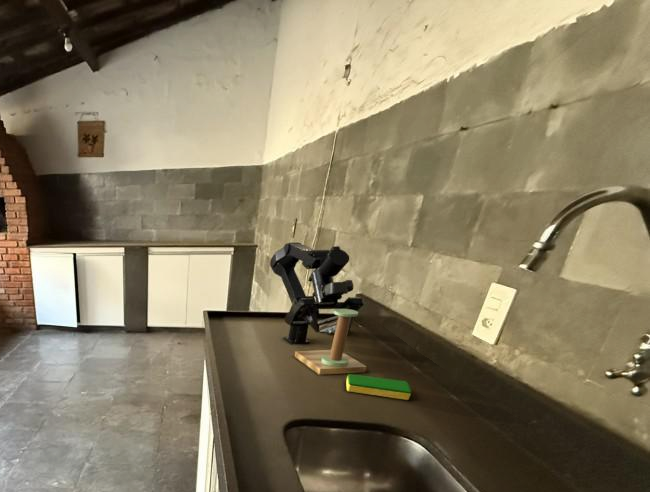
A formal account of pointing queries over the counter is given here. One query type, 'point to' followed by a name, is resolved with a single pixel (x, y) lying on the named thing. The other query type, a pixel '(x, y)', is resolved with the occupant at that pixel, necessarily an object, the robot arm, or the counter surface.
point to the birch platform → (315, 363)
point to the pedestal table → (326, 358)
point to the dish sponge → (378, 386)
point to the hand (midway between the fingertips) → (333, 331)
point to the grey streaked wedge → (328, 324)
